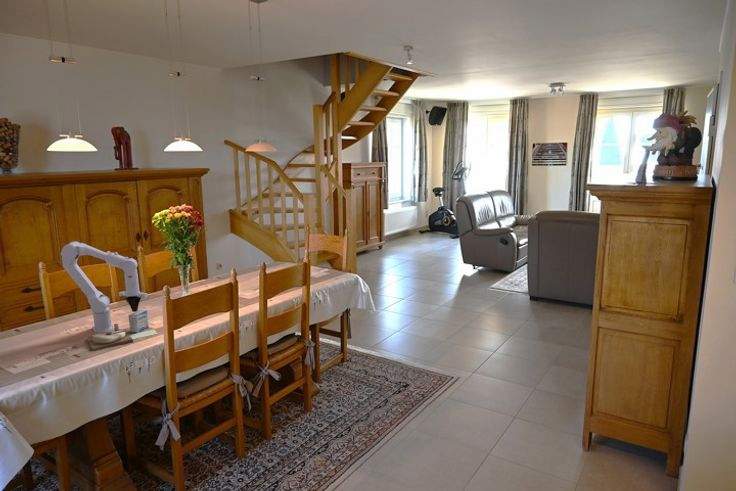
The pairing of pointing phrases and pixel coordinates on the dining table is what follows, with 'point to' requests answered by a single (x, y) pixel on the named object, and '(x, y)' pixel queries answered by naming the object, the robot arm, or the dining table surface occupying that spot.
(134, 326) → the medicine box
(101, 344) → the base board
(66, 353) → the dining table surface
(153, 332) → the mat
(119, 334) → the index wheel
